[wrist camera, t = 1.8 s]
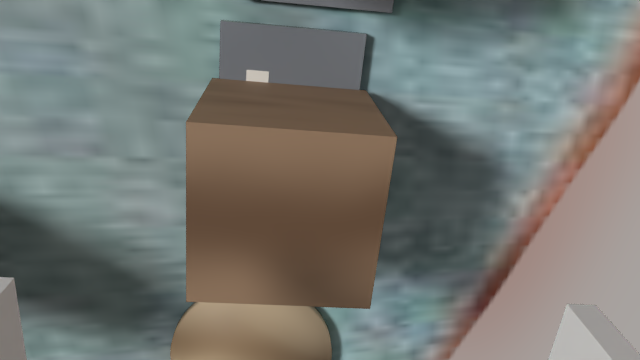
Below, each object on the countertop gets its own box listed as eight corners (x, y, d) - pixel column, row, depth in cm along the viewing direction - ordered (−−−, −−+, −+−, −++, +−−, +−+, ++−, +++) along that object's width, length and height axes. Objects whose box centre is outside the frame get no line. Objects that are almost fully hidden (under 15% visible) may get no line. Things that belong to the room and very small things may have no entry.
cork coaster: (322, 410, 32) (323, 418, 31) (173, 407, 31) (171, 415, 30) (338, 286, 29) (340, 292, 28) (171, 279, 28) (169, 285, 27)
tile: (336, 262, 28) (337, 266, 28) (215, 256, 27) (214, 261, 27) (365, 33, 23) (366, 34, 23) (221, 19, 23) (220, 20, 22)
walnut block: (348, 225, 27) (369, 308, 20) (209, 217, 26) (186, 301, 20) (366, 90, 24) (397, 137, 18) (212, 78, 23) (186, 122, 17)
